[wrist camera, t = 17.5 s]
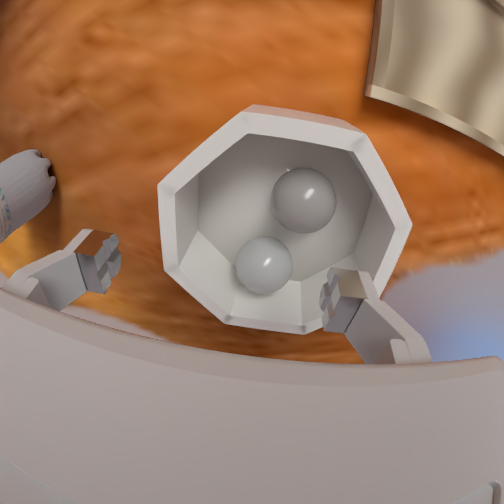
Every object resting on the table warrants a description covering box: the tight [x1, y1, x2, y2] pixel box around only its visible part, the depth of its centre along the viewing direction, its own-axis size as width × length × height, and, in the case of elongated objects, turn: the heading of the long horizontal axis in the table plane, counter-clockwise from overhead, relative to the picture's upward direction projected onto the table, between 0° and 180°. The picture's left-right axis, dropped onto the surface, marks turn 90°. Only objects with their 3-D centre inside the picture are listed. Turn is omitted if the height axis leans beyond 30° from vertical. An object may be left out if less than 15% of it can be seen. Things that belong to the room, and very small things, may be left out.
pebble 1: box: [235, 236, 293, 294], centre depth 19 cm, size 4×4×4 cm
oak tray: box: [363, 0, 504, 157], centre depth 9 cm, size 18×14×2 cm
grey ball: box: [271, 167, 337, 234], centre depth 16 cm, size 4×4×4 cm
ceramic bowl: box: [157, 104, 412, 335], centre depth 17 cm, size 14×14×6 cm
